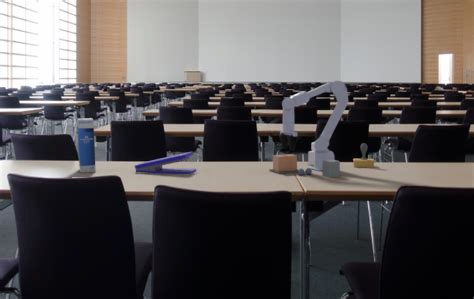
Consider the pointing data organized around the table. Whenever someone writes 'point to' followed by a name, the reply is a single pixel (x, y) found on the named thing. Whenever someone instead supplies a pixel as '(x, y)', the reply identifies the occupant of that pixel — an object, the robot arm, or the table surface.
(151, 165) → the stapler
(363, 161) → the rubber stamp
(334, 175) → the grey rectangular block
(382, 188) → the table surface
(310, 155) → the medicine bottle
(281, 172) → the charcoal mat
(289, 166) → the salmon rectangular prism
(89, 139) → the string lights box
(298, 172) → the marble
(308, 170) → the marble
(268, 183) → the table surface
